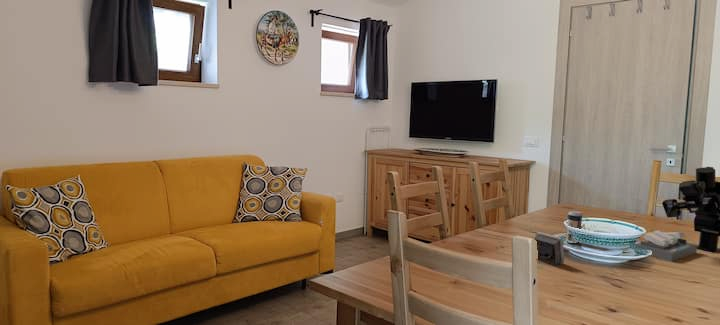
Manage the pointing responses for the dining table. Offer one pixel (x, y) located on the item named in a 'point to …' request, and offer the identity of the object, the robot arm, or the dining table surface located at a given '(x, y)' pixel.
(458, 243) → the dining table surface
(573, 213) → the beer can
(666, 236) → the rocker
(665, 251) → the console
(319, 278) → the dining table surface
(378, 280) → the dining table surface
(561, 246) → the electrical switch
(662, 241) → the rocker
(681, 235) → the rocker
